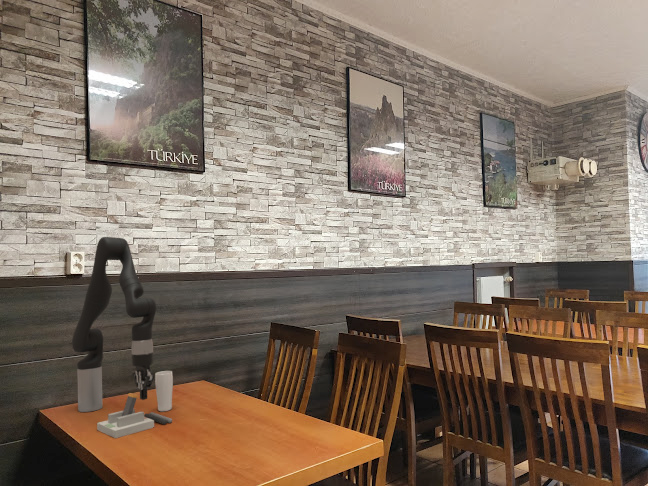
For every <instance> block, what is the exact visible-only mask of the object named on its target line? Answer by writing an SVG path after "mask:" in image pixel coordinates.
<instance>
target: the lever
mask: <svg viewBox="0 0 648 486" xmlns="http://www.w3.org/2000/svg"><path fill="white" fill-rule="evenodd" d="M138 397H139V395H138V394H135V393H130V392H129V393H128V394H127V399H126V402H125V406H124V408H123V410H124V411H123V410H122V411H123V414H122V416H125V415H129V414H132V412H133V409H135V405H136V402H137V399H138ZM122 416H121V417H122Z"/></svg>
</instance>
